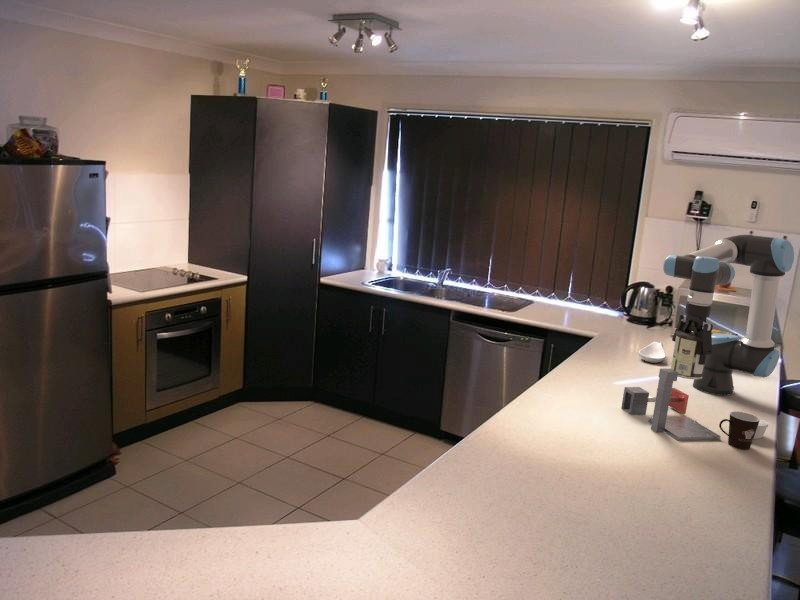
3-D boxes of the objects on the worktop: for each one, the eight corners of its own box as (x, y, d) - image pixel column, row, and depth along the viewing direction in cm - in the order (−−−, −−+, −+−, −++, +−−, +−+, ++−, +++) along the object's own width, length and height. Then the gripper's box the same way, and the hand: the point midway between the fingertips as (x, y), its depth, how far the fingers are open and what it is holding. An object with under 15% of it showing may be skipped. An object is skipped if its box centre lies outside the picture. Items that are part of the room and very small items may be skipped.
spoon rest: (661, 367, 300) (664, 351, 298) (635, 361, 305) (637, 346, 304) (669, 356, 320) (672, 342, 319) (644, 351, 326) (646, 337, 324)
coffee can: (698, 373, 227) (706, 333, 224) (705, 381, 217) (713, 340, 214) (666, 368, 229) (674, 328, 226) (672, 376, 219) (679, 335, 216)
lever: (671, 405, 245) (674, 387, 244) (685, 413, 238) (688, 395, 236) (626, 406, 240) (628, 387, 239) (638, 414, 233) (641, 395, 231)
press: (666, 408, 244) (676, 353, 239) (720, 439, 217) (731, 378, 213) (620, 408, 239) (628, 352, 235) (668, 440, 212) (679, 378, 208)
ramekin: (764, 432, 227) (767, 418, 226) (766, 443, 217) (769, 428, 216) (728, 425, 232) (730, 410, 231) (728, 435, 222) (731, 420, 221)
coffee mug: (751, 443, 216) (757, 414, 214) (756, 453, 208) (762, 423, 206) (712, 436, 220) (718, 407, 218) (715, 445, 212) (721, 416, 210)
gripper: (668, 296, 228) (657, 358, 232) (712, 310, 206) (699, 379, 211) (687, 297, 230) (676, 358, 234) (732, 311, 208) (719, 379, 212)
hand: (687, 368), depth 222 cm, fingers closed on coffee can, 10 cm apart
